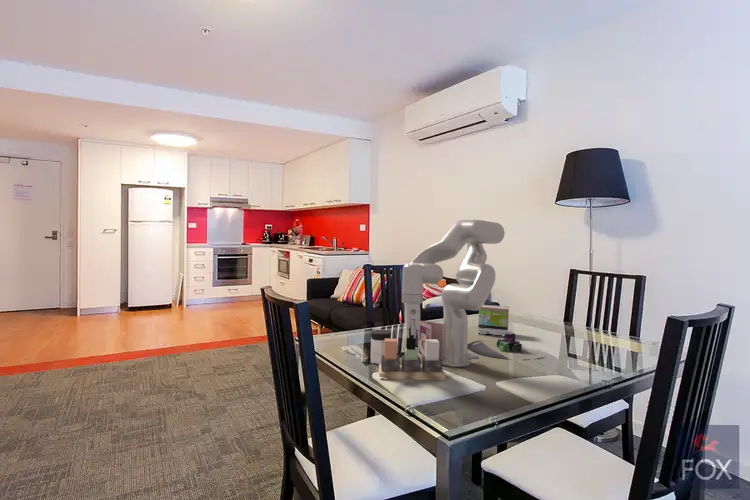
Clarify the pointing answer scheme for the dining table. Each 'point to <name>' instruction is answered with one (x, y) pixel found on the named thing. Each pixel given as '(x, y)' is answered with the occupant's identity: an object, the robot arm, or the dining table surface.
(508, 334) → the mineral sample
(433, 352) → the grey button
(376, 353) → the jar
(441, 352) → the greeting card
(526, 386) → the dining table surface
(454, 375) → the dining table surface
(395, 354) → the pink upright block
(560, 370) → the dining table surface
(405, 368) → the base
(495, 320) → the tea box
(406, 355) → the pale green upright block
